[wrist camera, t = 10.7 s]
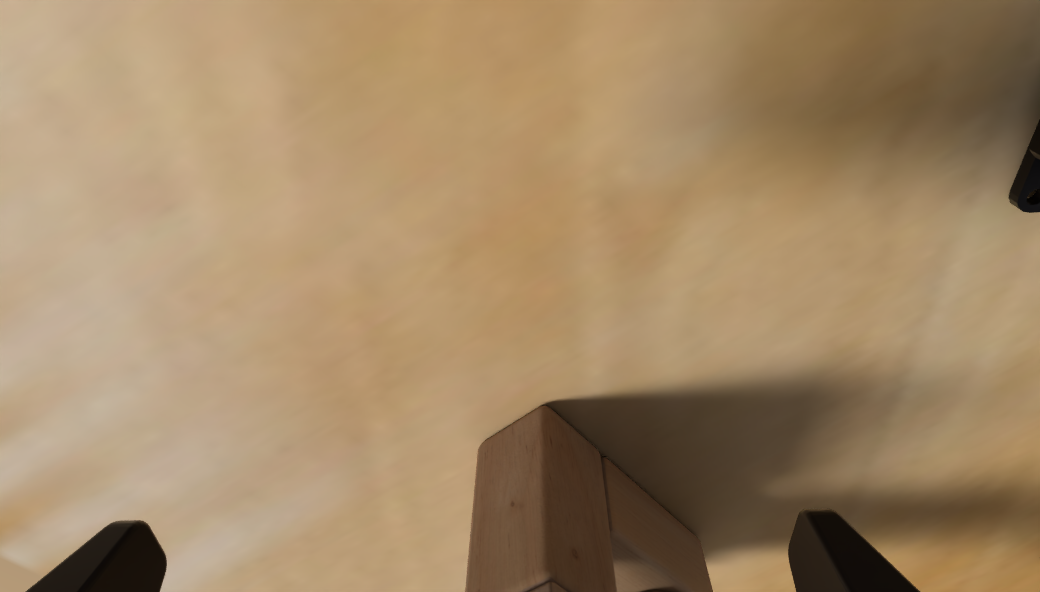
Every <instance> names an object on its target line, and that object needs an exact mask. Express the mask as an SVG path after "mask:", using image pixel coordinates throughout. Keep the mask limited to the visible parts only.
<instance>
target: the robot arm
mask: <svg viewBox="0 0 1040 592" xmlns="http://www.w3.org/2000/svg"><path fill="white" fill-rule="evenodd" d="M1036 189H1037V191H1036V192H1035V193H1034V195H1032V196H1031V197H1029V198H1027V197H1028V195H1029V194H1030V193H1031V192H1032V191H1034V190H1036ZM1009 200H1010V203H1012V204H1013V205H1014V206H1016V207H1017V208H1019V209H1020V210H1022V211H1023V212H1029V213H1033V212H1040V120H1039V122H1038V125H1037V127H1036V129H1035V132H1034V134H1033V137H1032V139H1031V142H1030V144H1029V146H1028V149H1027V151H1026V154H1025V156H1024V158H1023V161H1022V163H1021V166H1020V168H1019V170H1018V173H1017V175H1016V178H1015V180H1014V183H1013V185H1012V187H1011V190H1010V193H1009ZM788 555H789V563H790V567H791V571H792V576H793V580H794V584H795V588H796V592H920V591H919V590H918V589H917V588H916V587H915V586H914V585H913V584H912V583H911V582H910V581H908V580H907V579H906V578H905V577H904V576H903V575H902V574H901V573H900V572H899V571H898V570H897V569H896V568H895V567H894V566H893V565H892V564H891V563H890V562H889V561H888V560H886V559H885V558H884V557H883V556H882V555H881V554H880V553H879V552H878V551H877V550H876V549H875V548H874V547H873V546H872V545H871V544H870V543H869V542H868V541H867V540H866V539H865V538H863V537H862V536H861V535H860V534H859V533H858V532H857V531H856V530H855V529H854V528H853V527H852V526H851V525H850V524H849V523H848V522H847V521H846V520H845V519H844V518H843V517H841V516H840V515H839V514H838V513H837V512H835V511H833V510H831V509H803V510H802V511H801V512H800V513H799V515H798V517H797V521H796V524H795V527H794V530H793V534H792V537H791V540H790V543H789V549H788ZM166 566H167V560H166V555H165V552H164V551H163V549H162V547H161V545H160V544H159V542H158V540H157V539H156V537H155V535H154V533H153V532H152V530H151V528H150V526H149V525H148V524H147V523H146V522H144V521H141V520H134V521H116V522H113V523H111V524H109V525H107V526H106V527H105V528H103V529H102V530H101V531H100V532H98V533H97V534H96V535H95V536H94V537H92V538H91V539H90V540H89V541H87V542H86V543H85V544H84V545H82V546H81V547H80V548H79V549H78V550H76V551H75V552H74V553H73V554H71V555H70V556H69V557H68V558H66V559H65V560H64V561H63V562H61V563H60V564H59V565H58V566H57V567H55V568H54V569H53V570H52V571H50V572H49V573H48V574H47V575H45V576H44V577H43V578H42V579H41V580H40V581H38V582H37V583H36V584H35V585H33V586H32V587H31V588H30V589H28V590H27V591H26V592H160V589H161V586H162V583H163V579H164V576H165V572H166Z"/></svg>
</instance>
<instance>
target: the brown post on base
mask: <svg viewBox="0 0 1040 592" xmlns="http://www.w3.org/2000/svg"><path fill="white" fill-rule="evenodd" d="M465 592H713V590H712V586H711V582H710V578H709V574H708V570H707V566H706V562H705V558H704V554H703V551H702V547H701V543H700V541H699V539H698V538H697V537H696V536H695V535H694V534H692V533H691V532H690V531H689V530H688V529H687V528H686V527H684V526H683V525H682V524H681V523H680V522H679V521H678V520H676V519H675V518H674V517H673V516H672V515H671V514H670V513H668V512H667V511H666V510H665V509H664V508H663V507H662V506H661V505H659V504H658V503H657V502H656V501H655V500H654V499H653V498H651V497H650V496H649V495H648V494H647V493H646V492H645V491H643V490H642V489H641V488H640V487H639V486H638V485H637V484H635V483H634V482H633V481H632V480H631V479H630V478H629V477H628V476H626V475H625V474H624V473H623V472H622V471H621V470H620V469H618V468H617V467H616V466H615V465H614V464H613V463H612V462H610V461H609V460H608V459H607V458H604V457H602V458H601V456H600V454H599V452H598V450H597V449H596V448H595V447H594V446H593V445H592V444H591V443H589V442H588V441H587V440H586V439H585V438H584V437H583V436H582V435H580V434H579V433H578V432H577V431H576V430H575V429H574V428H572V427H571V426H570V425H569V424H568V423H567V422H566V421H564V420H563V419H562V418H561V417H560V416H559V415H558V414H557V413H555V412H554V411H553V410H552V409H551V408H550V407H547V406H541V407H539V408H537V409H535V410H534V411H532V412H530V413H529V414H527V415H526V416H524V417H522V418H521V419H519V420H518V421H516V422H514V423H513V424H511V425H510V426H508V427H506V428H505V429H503V430H501V431H500V432H498V433H497V434H495V435H493V436H492V437H490V438H489V439H487V440H485V441H484V442H483V443H482V444H481V445H480V447H479V449H478V456H477V467H476V479H475V490H474V501H473V512H472V523H471V534H470V545H469V556H468V567H467V578H466V589H465Z"/></svg>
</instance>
